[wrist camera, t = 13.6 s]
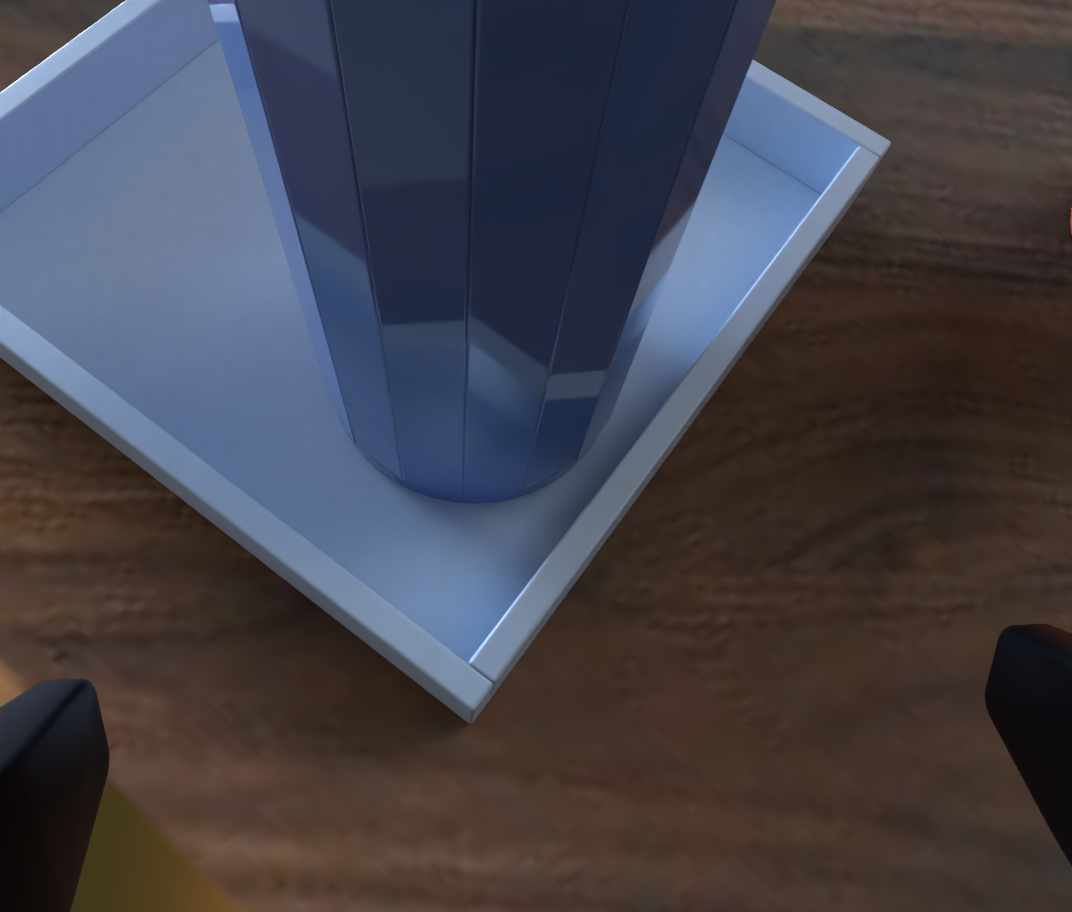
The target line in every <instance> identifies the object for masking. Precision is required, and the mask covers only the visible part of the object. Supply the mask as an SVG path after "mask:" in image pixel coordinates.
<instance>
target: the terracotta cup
mask: <svg viewBox="0 0 1072 912" xmlns="http://www.w3.org/2000/svg"><path fill="white" fill-rule="evenodd" d="M1070 227H1071V236H1072V208H1071V216H1070Z"/></svg>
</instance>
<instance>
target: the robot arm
mask: <svg viewBox="0 0 1072 912" xmlns="http://www.w3.org/2000/svg"><path fill="white" fill-rule="evenodd" d="M985 701H986V707H987V710H988V713H989V716H990V718H991V720H992V722H993V724H994V725H995V727H996V729H997V731H998V733H999V735H1000V737H1001V739H1002V740H1003V742H1004V744H1005V746H1006V748H1007V750H1008V752H1009V754H1010V755H1011V757H1012V759H1013V761H1014V763H1015V765H1016V767H1017V769H1018V770H1019V772H1020V774H1021V776H1022V778H1023V780H1024V782H1025V784H1026V785H1027V787H1028V789H1029V791H1030V793H1031V795H1032V797H1033V799H1034V801H1035V802H1036V804H1037V806H1038V808H1039V810H1040V812H1041V814H1042V816H1043V817H1044V819H1045V821H1046V823H1047V825H1048V827H1049V828H1050V830H1051V832H1052V834H1053V836H1054V837H1055V839H1056V841H1057V843H1058V844H1059V846H1060V848H1061V849H1062V851H1063V853H1064V854H1065V856H1066V857H1067V859H1068V861H1069V862H1070V864H1071V865H1072V634H1071V633H1069V632H1066V631H1064V630H1061V629H1059V628H1056V627H1054V626H1051V625H1048V624H1027V625H1012V626H1009V627H1007V628H1005V629H1004V630H1003V631H1002V633H1001V634H1000V636H999V638H998V642H997V646H996V650H995V654H994V657H993V661H992V665H991V669H990V673H989V677H988V681H987V685H986V690H985ZM108 768H109V748H108V743H107V738H106V734H105V729H104V725H103V720H102V716H101V712H100V707H99V703H98V698H97V694H96V691H95V688H94V686H93V685H92V683H91V682H89V681H88V680H86V679H83V678H80V679H62V680H46V681H42V682H40V683H38V684H36V685H34V686H33V687H31V688H30V689H28V690H27V691H25V692H23V693H22V694H20V695H19V696H17V697H16V698H14V699H13V700H11V701H10V702H8V703H6V704H5V705H3V706H2V707H0V912H70V911H71V907H72V904H73V900H74V896H75V893H76V889H77V885H78V881H79V878H80V874H81V870H82V867H83V863H84V859H85V856H86V852H87V848H88V845H89V841H90V837H91V834H92V830H93V826H94V823H95V819H96V815H97V812H98V808H99V804H100V801H101V797H102V793H103V789H104V786H105V782H106V779H107V774H108Z"/></svg>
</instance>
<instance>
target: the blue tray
mask: <svg viewBox="0 0 1072 912" xmlns="http://www.w3.org/2000/svg"><path fill="white" fill-rule="evenodd" d="M890 145H891V142H890V141H889V140H887V139H885V138H884V137H882V136H880V135H879V134H877V133H875V132H874V131H872V130H870V129H868V128H867V127H865V126H863V125H862V124H860V123H858V122H857V121H855V120H853V119H852V118H850V117H848V116H847V115H845V114H843V113H842V112H840V111H838V110H837V109H835V108H833V107H832V106H830V105H828V104H826V103H825V102H823V101H821V100H820V99H818V98H816V97H815V96H813V95H811V94H810V93H808V92H806V91H805V90H803V89H801V88H800V87H798V86H796V85H795V84H793V83H791V82H790V81H788V80H786V79H784V78H783V77H781V76H779V75H778V74H776V73H774V72H773V71H771V70H769V69H768V68H766V67H764V66H763V65H761V64H759V63H758V62H756V61H754V60H752V63H751V65H750V68H749V70H748V73H747V75H746V78H745V80H744V83H743V85H742V88H741V90H740V93H739V95H738V98H737V100H736V103H735V105H734V108H733V110H732V113H731V115H730V118H729V120H728V123H727V125H726V128H725V131H724V133H723V136H722V138H721V141H720V143H719V146H718V148H717V151H716V153H715V156H714V158H713V161H712V163H711V166H710V168H709V171H708V173H707V176H706V178H705V181H704V183H703V186H702V188H701V191H700V193H699V196H698V198H697V201H696V204H695V206H694V209H693V211H692V214H691V216H690V219H689V221H688V224H687V226H686V229H685V231H684V234H683V236H682V239H681V241H680V244H679V246H678V249H677V251H676V254H675V256H674V259H673V261H672V264H671V266H670V269H669V272H668V274H667V277H666V279H665V282H664V284H663V287H662V289H661V292H660V294H659V297H658V299H657V302H656V304H655V307H654V309H653V312H652V314H651V317H650V319H649V322H648V324H647V327H646V329H645V332H644V334H643V337H642V339H641V342H640V345H639V347H638V350H637V352H636V355H635V357H634V360H633V362H632V365H631V367H630V370H629V372H628V375H627V377H626V380H625V382H624V385H623V387H622V390H621V392H620V395H619V397H618V400H617V402H616V405H615V407H614V410H613V412H612V415H611V417H610V419H609V421H608V422H607V424H606V425H605V426H604V428H603V430H602V432H601V434H600V436H599V437H598V439H597V440H596V442H595V443H594V445H593V446H592V448H591V449H590V451H589V452H588V453H587V454H586V455H585V456H584V457H583V458H582V459H581V460H580V462H579V463H578V464H577V465H575V466H574V467H573V468H572V469H571V470H569V471H568V472H567V473H566V474H565V475H563V476H562V477H560V478H559V479H557V480H555V481H554V482H552V483H551V484H549V485H547V486H545V487H543V488H541V489H539V490H536V491H534V492H532V493H530V494H526V495H523V496H520V497H517V498H513V499H509V500H503V501H498V502H491V503H461V502H451V501H446V500H441V499H436V498H432V497H429V496H426V495H423V494H420V493H417V492H414V491H412V490H410V489H408V488H406V487H404V486H402V485H400V484H398V483H396V482H394V481H393V480H391V479H390V478H388V477H387V476H385V475H384V474H382V473H381V472H380V471H379V470H377V469H376V468H375V467H374V466H373V465H372V464H370V463H369V462H368V461H367V460H366V459H365V458H364V457H363V456H362V454H361V453H360V452H359V451H358V450H357V449H356V448H355V446H354V445H353V443H352V442H351V440H350V439H349V437H348V436H347V434H346V433H345V431H344V429H343V427H342V425H341V423H340V421H339V418H338V416H337V414H336V410H335V408H334V406H333V404H332V403H331V401H330V399H329V397H328V394H327V390H326V387H325V384H324V380H323V377H322V374H321V371H320V367H319V364H318V361H317V358H316V354H315V351H314V348H313V344H312V341H311V338H310V335H309V331H308V328H307V325H306V321H305V318H304V315H303V312H302V308H301V305H300V302H299V298H298V295H297V292H296V289H295V285H294V282H293V279H292V275H291V272H290V269H289V266H288V262H287V259H286V256H285V252H284V249H283V246H282V243H281V239H280V236H279V233H278V230H277V226H276V223H275V220H274V216H273V213H272V210H271V207H270V203H269V200H268V197H267V193H266V190H265V187H264V184H263V180H262V177H261V174H260V170H259V167H258V164H257V161H256V157H255V154H254V151H253V147H252V144H251V141H250V138H249V134H248V131H247V128H246V125H245V121H244V118H243V115H242V111H241V108H240V105H239V102H238V98H237V95H236V92H235V88H234V85H233V82H232V79H231V75H230V72H229V69H228V65H227V62H226V59H225V56H224V52H223V49H222V46H221V42H220V39H219V36H218V33H217V29H216V26H215V23H214V19H213V16H212V13H211V10H210V6H209V3H208V0H126V1H125V2H123V3H122V4H120V5H119V6H118V7H116V8H115V9H114V10H112V11H111V12H110V13H108V14H107V15H106V16H104V17H103V18H101V19H100V20H99V21H97V22H96V23H95V24H93V25H92V26H91V27H89V28H88V29H86V30H85V31H84V32H82V33H81V34H80V35H78V36H77V37H76V38H74V39H73V40H71V41H70V42H69V43H67V44H66V45H65V46H63V47H62V48H61V49H59V50H58V51H57V52H55V53H54V54H52V55H51V56H50V57H48V58H47V59H46V60H44V61H43V62H42V63H40V64H39V65H37V66H36V67H35V68H33V69H32V70H31V71H29V72H28V73H27V74H25V75H24V76H22V77H21V78H20V79H18V80H17V81H16V82H14V83H13V84H12V85H10V86H9V87H7V88H6V89H5V90H3V91H2V92H1V93H0V358H2V359H3V360H4V361H5V362H7V363H8V364H9V365H10V366H12V367H13V368H14V369H16V370H17V371H18V372H19V373H21V374H22V375H23V376H25V377H26V378H27V379H28V380H30V381H31V382H32V383H34V384H35V385H36V386H37V387H39V388H40V389H41V390H42V391H44V392H45V393H46V394H48V395H49V396H50V397H51V398H53V399H54V400H55V401H57V402H58V403H59V404H60V405H62V406H63V407H64V408H66V409H67V410H68V411H69V412H71V413H72V414H73V415H74V416H76V417H77V418H78V419H80V420H81V421H82V422H83V423H85V424H86V425H87V426H89V427H90V428H91V429H92V430H94V431H95V432H96V433H98V434H99V435H100V436H101V437H103V438H104V439H105V440H106V441H108V442H109V443H110V444H112V445H113V446H114V447H115V448H117V449H118V450H119V451H121V452H122V453H123V454H124V455H126V456H127V457H128V458H130V459H131V460H132V461H133V462H135V463H136V464H137V465H138V466H140V467H141V468H142V469H144V470H145V471H146V472H147V473H149V474H150V475H151V476H153V477H154V478H155V479H156V480H158V481H159V482H160V483H162V484H163V485H164V486H165V487H167V488H168V489H169V490H171V491H172V492H173V493H174V494H176V495H177V496H178V497H179V498H181V499H182V500H183V501H185V502H186V503H187V504H188V505H190V506H191V507H192V508H194V509H195V510H196V511H197V512H199V513H200V514H201V515H203V516H204V517H205V518H206V519H208V520H209V521H210V522H211V523H213V524H214V525H215V526H217V527H218V528H219V529H220V530H222V531H223V532H224V533H226V534H227V535H228V536H229V537H231V538H232V539H233V540H235V541H236V542H237V543H238V544H240V545H241V546H242V547H243V548H245V549H246V550H247V551H249V552H250V553H251V554H252V555H254V556H255V557H256V558H258V559H259V560H260V561H261V562H263V563H264V564H265V565H267V566H268V567H269V568H270V569H272V570H273V571H274V572H275V573H277V574H278V575H279V576H281V577H282V578H283V579H284V580H286V581H287V582H288V583H290V584H291V585H292V586H293V587H295V588H296V589H297V590H299V591H300V592H301V593H302V594H304V595H305V596H306V597H307V598H309V599H310V600H311V601H313V602H314V603H315V604H316V605H318V606H319V607H320V608H322V609H323V610H324V611H325V612H327V613H328V614H329V615H331V616H332V617H333V618H334V619H336V620H337V621H338V622H339V623H341V624H342V625H343V626H345V627H346V628H347V629H348V630H350V631H351V632H352V633H354V634H355V635H356V636H357V637H359V638H360V639H361V640H363V641H364V642H365V643H366V644H368V645H369V646H370V647H371V648H373V649H374V650H375V651H377V652H378V653H379V654H380V655H382V656H383V657H384V658H386V659H387V660H388V661H389V662H391V663H392V664H393V665H395V666H396V667H397V668H398V669H400V670H401V671H402V672H403V673H405V674H406V675H407V676H409V677H410V678H411V679H412V680H414V681H415V682H416V683H418V684H419V685H420V686H421V687H423V688H424V689H425V690H427V691H428V692H429V693H430V694H432V695H433V696H434V697H435V698H437V699H438V700H439V701H441V702H442V703H443V704H444V705H446V706H447V707H448V708H450V709H451V710H452V711H453V712H455V713H456V714H457V715H459V716H460V717H461V718H462V719H464V720H465V721H466V722H467V723H469V724H472V723H473V722H474V721H475V719H476V718H477V717H478V715H479V714H480V713H481V711H482V710H483V709H484V707H485V706H486V704H487V703H488V702H489V700H490V699H491V698H492V696H493V695H494V693H495V692H496V691H497V689H498V688H499V687H500V685H501V684H502V683H503V681H504V680H505V678H506V677H507V676H508V674H509V673H510V672H511V670H512V669H513V668H514V666H515V665H516V663H517V662H518V661H519V659H520V658H521V657H522V655H523V654H524V652H525V651H526V650H527V648H528V647H529V646H530V644H531V643H532V642H533V640H534V639H535V637H536V636H537V635H538V633H539V632H540V631H541V629H542V628H543V626H544V625H545V624H546V622H547V621H548V620H549V618H550V617H551V616H552V614H553V613H554V611H555V610H556V609H557V607H558V606H559V605H560V603H561V602H562V601H563V599H564V598H565V596H566V595H567V594H568V592H569V591H570V590H571V588H572V587H573V585H574V584H575V583H576V581H577V580H578V579H579V577H580V576H581V575H582V573H583V572H584V570H585V569H586V568H587V566H588V565H589V564H590V562H591V561H592V560H593V558H594V557H595V555H596V554H597V553H598V551H599V550H600V549H601V547H602V546H603V544H604V543H605V542H606V540H607V539H608V538H609V536H610V535H611V534H612V532H613V531H614V529H615V528H616V527H617V525H618V524H619V523H620V521H621V520H622V519H623V517H624V516H625V514H626V513H627V512H628V510H629V509H630V508H631V506H632V505H633V503H634V502H635V501H636V499H637V498H638V497H639V495H640V494H641V493H642V491H643V490H644V488H645V487H646V486H647V484H648V483H649V482H650V480H651V479H652V477H653V476H654V475H655V473H656V472H657V471H658V469H659V468H660V467H661V465H662V464H663V462H664V461H665V460H666V458H667V457H668V456H669V454H670V453H671V452H672V450H673V449H674V447H675V446H676V445H677V443H678V442H679V441H680V439H681V438H682V436H683V435H684V434H685V432H686V431H687V430H688V428H689V427H690V426H691V424H692V423H693V421H694V420H695V419H696V417H697V416H698V415H699V413H700V412H701V411H702V409H703V408H704V406H705V405H706V404H707V402H708V401H709V400H710V398H711V397H712V395H713V394H714V393H715V391H716V390H717V389H718V387H719V386H720V385H721V383H722V382H723V380H724V379H725V378H726V376H727V375H728V374H729V372H730V371H731V369H732V368H733V367H734V365H735V364H736V363H737V361H738V360H739V359H740V357H741V356H742V354H743V353H744V352H745V350H746V349H747V348H748V346H749V345H750V344H751V342H752V341H753V339H754V338H755V337H756V335H757V334H758V333H759V331H760V330H761V328H762V327H763V326H764V324H765V323H766V322H767V320H768V319H769V318H770V316H771V315H772V313H773V312H774V311H775V309H776V308H777V307H778V305H779V304H780V303H781V301H782V300H783V298H784V297H785V296H786V294H787V293H788V292H789V290H790V289H791V287H792V286H793V285H794V283H795V282H796V281H797V279H798V278H799V277H800V275H801V274H802V272H803V271H804V270H805V268H806V267H807V266H808V264H809V263H810V262H811V260H812V259H813V257H814V256H815V255H816V253H817V252H818V251H819V249H820V248H821V246H822V245H823V244H824V242H825V241H826V240H827V238H828V237H829V236H830V234H831V233H832V231H833V230H834V229H835V227H836V226H837V225H838V223H839V222H840V220H841V219H842V218H843V216H844V215H845V214H846V212H847V211H848V209H849V208H850V206H851V205H852V203H853V202H854V200H855V198H856V197H857V196H858V194H859V193H860V191H861V190H862V188H863V187H864V185H865V183H866V182H867V180H868V179H869V177H870V176H871V174H872V173H873V171H874V170H875V168H876V167H877V165H878V164H879V162H880V161H881V159H882V158H883V156H884V154H885V153H886V151H887V150H888V148H889V147H890Z"/></svg>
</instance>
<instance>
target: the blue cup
mask: <svg viewBox="0 0 1072 912" xmlns="http://www.w3.org/2000/svg"><path fill="white" fill-rule="evenodd" d="M775 2H776V0H208V3H209V6H210V10H211V13H212V16H213V19H214V23H215V26H216V29H217V33H218V36H219V39H220V42H221V46H222V49H223V52H224V56H225V59H226V62H227V65H228V69H229V72H230V75H231V79H232V82H233V85H234V88H235V92H236V95H237V98H238V102H239V105H240V108H241V111H242V115H243V118H244V121H245V125H246V128H247V131H248V134H249V138H250V141H251V144H252V147H253V151H254V154H255V157H256V161H257V164H258V167H259V170H260V174H261V177H262V180H263V184H264V187H265V190H266V193H267V197H268V200H269V203H270V207H271V210H272V213H273V216H274V220H275V223H276V226H277V230H278V233H279V236H280V239H281V243H282V246H283V249H284V252H285V256H286V259H287V262H288V266H289V269H290V272H291V275H292V279H293V282H294V285H295V289H296V292H297V295H298V298H299V302H300V305H301V308H302V312H303V315H304V318H305V321H306V325H307V328H308V331H309V335H310V338H311V341H312V344H313V348H314V351H315V354H316V358H317V361H318V364H319V367H320V371H321V374H322V377H323V380H324V384H325V387H326V390H327V394H328V397H329V399H330V401H331V403H332V404H333V406H334V408H335V410H336V414H337V416H338V418H339V421H340V423H341V425H342V427H343V429H344V431H345V433H346V434H347V436H348V437H349V439H350V440H351V442H352V443H353V445H354V446H355V448H356V449H357V450H358V451H359V452H360V453H361V454H362V456H363V457H364V458H365V459H366V460H367V461H368V462H369V463H370V464H372V465H373V466H374V467H375V468H376V469H377V470H379V471H380V472H381V473H382V474H384V475H385V476H387V477H388V478H390V479H391V480H393V481H394V482H396V483H398V484H400V485H402V486H404V487H406V488H408V489H410V490H412V491H414V492H417V493H420V494H423V495H426V496H429V497H432V498H436V499H441V500H446V501H451V502H461V503H491V502H498V501H503V500H509V499H513V498H517V497H520V496H523V495H526V494H530V493H532V492H534V491H536V490H539V489H541V488H543V487H545V486H547V485H549V484H551V483H552V482H554V481H555V480H557V479H559V478H560V477H562V476H563V475H565V474H566V473H567V472H568V471H569V470H571V469H572V468H573V467H574V466H575V465H577V464H578V463H579V462H580V460H581V459H582V458H583V457H584V456H585V455H586V454H587V453H588V452H589V451H590V449H591V448H592V446H593V445H594V443H595V442H596V440H597V439H598V437H599V436H600V434H601V432H602V430H603V428H604V426H605V425H606V424H607V422H608V421H609V419H610V417H611V415H612V412H613V410H614V407H615V405H616V402H617V400H618V397H619V395H620V392H621V390H622V387H623V385H624V382H625V380H626V377H627V375H628V372H629V370H630V367H631V365H632V362H633V360H634V357H635V355H636V352H637V350H638V347H639V345H640V342H641V339H642V337H643V334H644V332H645V329H646V327H647V324H648V322H649V319H650V317H651V314H652V312H653V309H654V307H655V304H656V302H657V299H658V297H659V294H660V292H661V289H662V287H663V284H664V282H665V279H666V277H667V274H668V272H669V269H670V266H671V264H672V261H673V259H674V256H675V254H676V251H677V249H678V246H679V244H680V241H681V239H682V236H683V234H684V231H685V229H686V226H687V224H688V221H689V219H690V216H691V214H692V211H693V209H694V206H695V204H696V201H697V198H698V196H699V193H700V191H701V188H702V186H703V183H704V181H705V178H706V176H707V173H708V171H709V168H710V166H711V163H712V161H713V158H714V156H715V153H716V151H717V148H718V146H719V143H720V141H721V138H722V136H723V133H724V131H725V128H726V125H727V123H728V120H729V118H730V115H731V113H732V110H733V108H734V105H735V103H736V100H737V98H738V95H739V93H740V90H741V88H742V85H743V83H744V80H745V78H746V75H747V73H748V70H749V68H750V65H751V63H752V60H753V58H754V55H755V52H756V50H757V47H758V45H759V42H760V40H761V37H762V35H763V32H764V30H765V27H766V25H767V22H768V20H769V17H770V15H771V12H772V10H773V7H774V5H775Z"/></svg>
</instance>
